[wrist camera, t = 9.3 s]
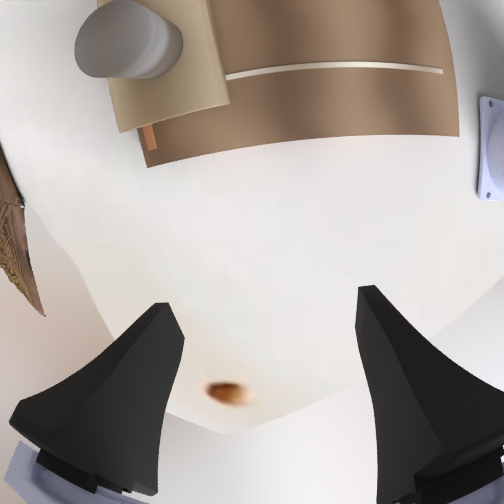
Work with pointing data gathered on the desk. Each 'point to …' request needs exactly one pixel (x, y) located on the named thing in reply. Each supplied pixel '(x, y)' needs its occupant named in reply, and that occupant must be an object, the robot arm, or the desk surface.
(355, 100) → the board
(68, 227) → the desk surface
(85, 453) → the robot arm
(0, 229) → the wooden fragment
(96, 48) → the beige block with knob
